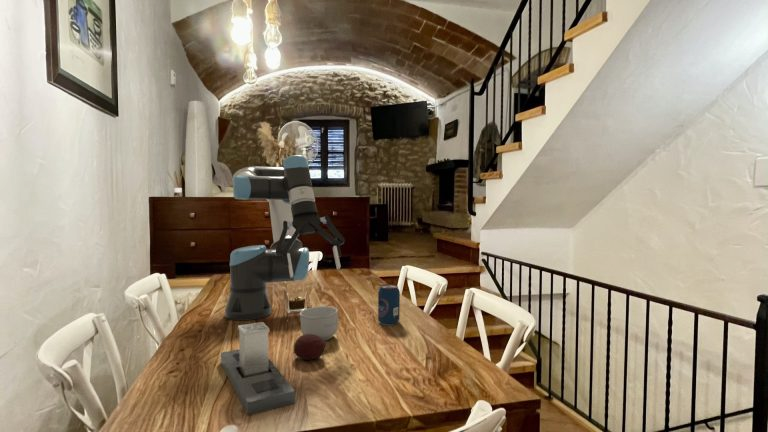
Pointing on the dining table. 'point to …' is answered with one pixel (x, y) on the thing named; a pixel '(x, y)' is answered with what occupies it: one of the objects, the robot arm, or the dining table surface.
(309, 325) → the teacup
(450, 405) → the dining table surface
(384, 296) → the soda can
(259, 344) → the grey rectangular block
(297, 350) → the potato
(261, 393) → the grey board with recesses
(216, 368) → the dining table surface
